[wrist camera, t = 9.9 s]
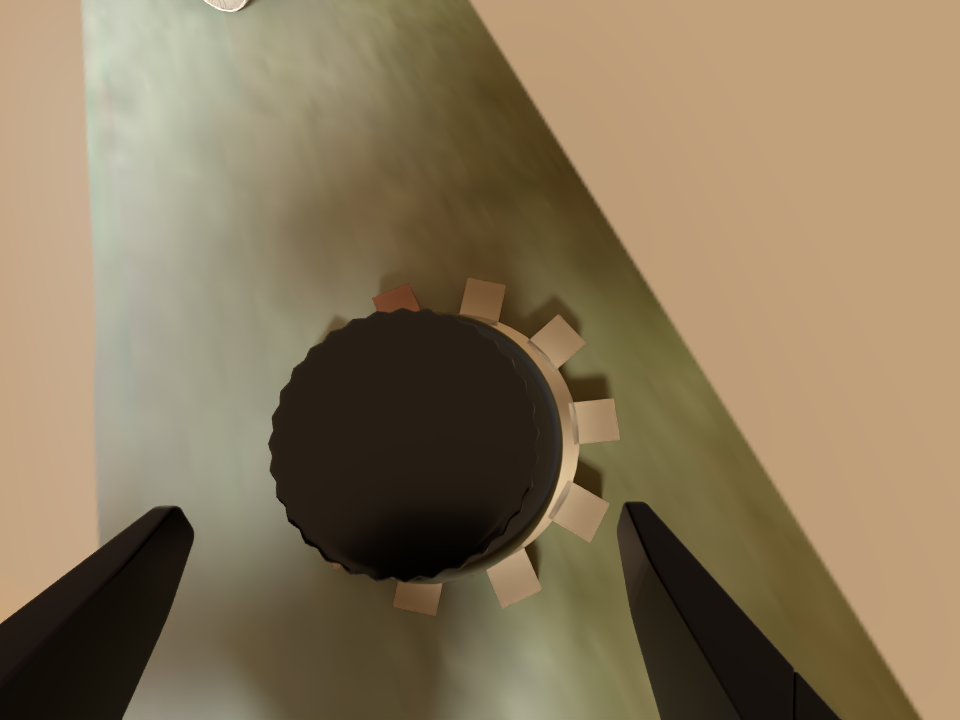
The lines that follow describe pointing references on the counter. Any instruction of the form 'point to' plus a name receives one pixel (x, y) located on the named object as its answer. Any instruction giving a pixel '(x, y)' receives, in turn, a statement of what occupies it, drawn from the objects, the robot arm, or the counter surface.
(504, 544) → the supplement bottle
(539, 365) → the sprocket wheel
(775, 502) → the counter surface
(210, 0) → the watch
